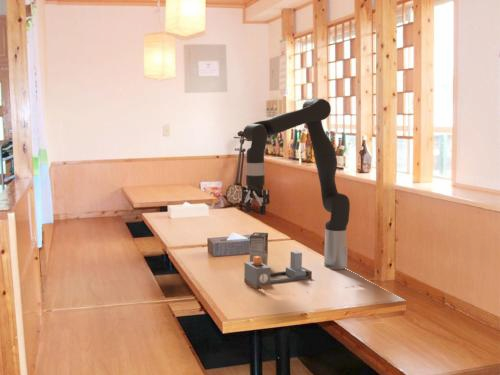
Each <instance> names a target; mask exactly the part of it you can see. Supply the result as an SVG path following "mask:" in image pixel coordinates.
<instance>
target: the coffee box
mask: <svg viewBox="0 0 500 375" xmlns="http://www.w3.org/2000/svg"><path fill="white" fill-rule="evenodd" d="M268 247H269V233H268V232H259V231H257V232H256V231H255V232H253V233H252V234H251V235H250V236H249V262H253V258H254V256H261V257H262V263H263V264H265V265H267V266H268V258H269V257H268V252H269V250H268V249H269V248H268Z"/></svg>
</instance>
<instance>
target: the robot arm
mask: <svg viewBox="0 0 500 375" xmlns="http://www.w3.org/2000/svg"><path fill="white" fill-rule="evenodd" d="M331 110H332V107H331V103H329V102H328V101H327V100H326V99H325V98H309V99H306V100H305V101H304V103H302V108H301V109H296V110H293V111H288V112H284V113H280V114H277V115H274V116H272V117H270V118H267V119H264V120H259V121H255V122H252V123H249V124H248V125H246V126H245V127H244V129H243V133H242V134H243V137H244V139H246V140H247V141H249V142H251V145H250V147H249V148H247V150H246V167H245V185H246V186H243V187H241V202H244V203H245V204H244V205H245V213H251V212H252V203H251V202H252V200H256V201H257V202H258V204H259V215H260V216H264V215H265V214H266V206H267V205H270V189H268V188H267V189H264V186H265V178H266V177H265V173H266V171H265V169H266V168H265V154H264V153H265V149H266V146H267V140H268V136H275V135H277V134H280V133H283V132H285V131H289V130H291V129H293V128H295V127H298V126H302V125H304V124H305V125H306V128H307V131H308V136H309V139H310V144H311V147H312V151H313V157H314V161H315V165H316V170H317V175H318V179H319V184H320V192H321V200H322V206H323V208H324V209H325V211H327V212H329V213H330V219H329V220H328V221H326V222H325V224H324V226H325V227H324V231H325V232H324V257H323V258H324V260H323V267H325V268H327V269H329V270H337V271H339V270H344V269H347V268H348V253H349V252H348V249H349V248H348V246H347V226H348V224H349V222H350V221H349V220H350V210H351V208H350V207H351V204H350V199H349V197H348V195H346V194H344V193H339V192H338V188H337V185H336V173H337V169H338V160H337V154H336V149H335V146H334V144H333V143H332V141H331V139H330V138H329V136H328V135H327V133H326V132H325V129H324V126H323V122H322V121H324V120H326V119H327V118H328V117H329V116H330V115H331Z"/></svg>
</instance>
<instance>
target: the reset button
mask: <svg viewBox="0 0 500 375" xmlns="http://www.w3.org/2000/svg"><path fill="white" fill-rule="evenodd" d="M261 264H262V257H261V256H254V258H253V265H261Z"/></svg>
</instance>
